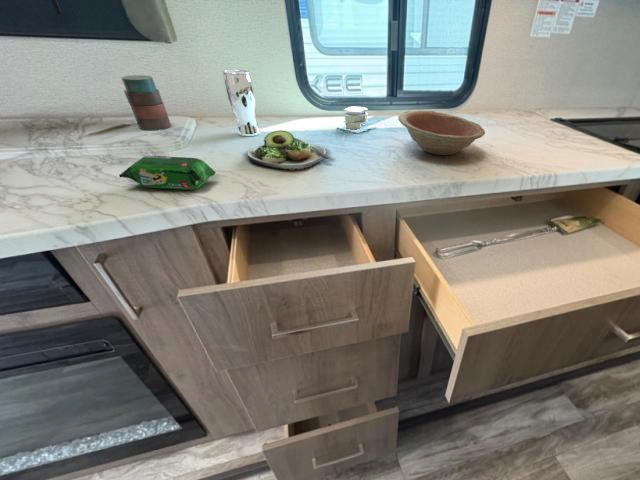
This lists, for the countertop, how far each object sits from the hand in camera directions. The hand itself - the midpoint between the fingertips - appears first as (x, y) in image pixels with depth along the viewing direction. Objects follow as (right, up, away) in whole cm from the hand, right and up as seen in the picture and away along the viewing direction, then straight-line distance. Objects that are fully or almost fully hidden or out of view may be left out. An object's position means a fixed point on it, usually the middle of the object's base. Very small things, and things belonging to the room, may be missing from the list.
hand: (19, 11), depth 72 cm
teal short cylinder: (+12, -5, +19) cm, 23 cm away
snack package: (+36, -39, -4) cm, 54 cm away
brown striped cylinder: (+12, -12, +25) cm, 30 cm away
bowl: (+94, -20, +23) cm, 98 cm away
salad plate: (+55, -27, +12) cm, 62 cm away
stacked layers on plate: (+69, -7, +35) cm, 77 cm away
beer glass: (+39, -14, +25) cm, 48 cm away
